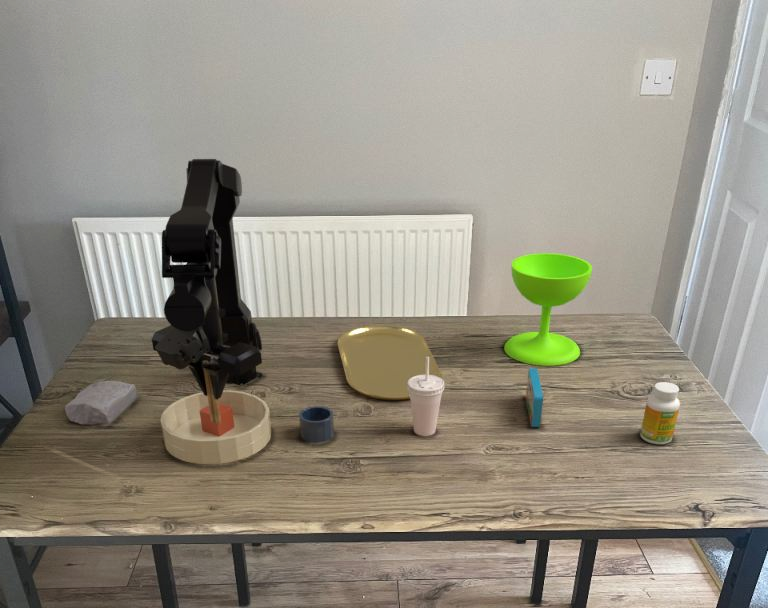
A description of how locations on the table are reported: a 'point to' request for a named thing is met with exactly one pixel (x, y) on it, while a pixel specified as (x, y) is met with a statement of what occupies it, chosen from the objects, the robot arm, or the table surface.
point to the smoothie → (425, 401)
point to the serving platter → (384, 360)
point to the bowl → (207, 448)
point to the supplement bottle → (661, 414)
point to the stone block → (101, 402)
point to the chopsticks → (211, 397)
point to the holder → (316, 424)
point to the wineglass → (547, 305)
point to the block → (214, 428)
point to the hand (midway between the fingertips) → (212, 396)
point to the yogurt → (534, 397)
